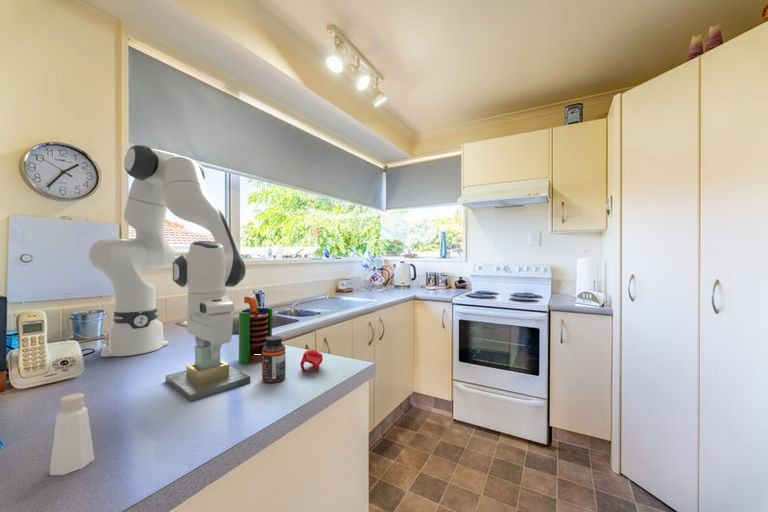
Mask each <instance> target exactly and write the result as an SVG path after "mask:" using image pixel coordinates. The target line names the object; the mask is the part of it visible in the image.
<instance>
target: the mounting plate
mask: <svg viewBox="0 0 768 512" xmlns="http://www.w3.org/2000/svg"><path fill="white" fill-rule="evenodd" d="M185 367H186V369H185V370H182V371H178V372H174V373H170V374H168V375H167V374H166V375H165V383H167V384H168V385H170V386H171V387H172V388H173V389H174V390H176V391H177V392H178V393H180V395H182V396H184V398H186V399H187V400H188V401H190V403H191V402H194V401H197V400H201V399H204V398H207V397H210V396H213V395H216V394H219V393H222V392H225V391H228V390H230V389H234V388H237V386H238V387H241V386H242V385H243V386H244V385H246V384H249V383H251V376H250V375H248V374H246V373H244V372H242V371H240V370H238V369H236V368H234V367H232V366H231V365H230V364H229V363H228V362H226V361H224V360H222V359H220V366H216V367H212V368H208V369H205V370H201V371H199V370H198V369H196V368H195V362H194V363H190V364H187V365H186V366H185Z"/></svg>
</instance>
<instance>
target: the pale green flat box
mask: <svg viewBox="0 0 768 512" xmlns="http://www.w3.org/2000/svg"><path fill="white" fill-rule="evenodd" d="M211 347H212V346H211V342H208V341H206V340H203V345H198V346H197V345H195V346H194V363H195V368H196V369H198V370H199V371H201V370H205V369H208V368H212V367H216V366H220V360H221V350H220V351H219V358H217V359H211V358H210V357H209V356H210V354H209V352H210V351H211Z"/></svg>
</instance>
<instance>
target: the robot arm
mask: <svg viewBox="0 0 768 512" xmlns="http://www.w3.org/2000/svg"><path fill="white" fill-rule="evenodd" d="M123 162H124V169H125V171H126V173H127V174H128V175H129V176H130V177H132V178H134V179H132V180H133V181H132V183H131V185H130V189H129V191H128V196H127V201H126V204H125V209H124V212H123V213H124V214H123V219H124V221H125V223H126V224H128V225H129V226H130V227H132V229H134V230H135V238H122V237H113V238H105V239H100V240H97V241H95V242H94V243H93V244H92V245H91V246H90V247H89V251H88V259H89V261H90V263H91V264H92V265H93V267H94V268H96V269H97V270H100V271H101V272H102V273H103V274H104V275H106V276H107V278H108V279H109V281H110V282H111V284H112V287H113V290H114V298H115V299H114V302H115V311H114V312H113V316H112V317H113V322H114V324H113V325H112V327H111V328H110V330H108V332H106V333H104V334H103V341H106V342H105V343H104V344H103V346H102V348H101V351H100V356H99V357H100V358H106V357H127V356H128V357H129V356H130V357H131V356H137V355H141V354H147V353H150V352H153V351H157V350H159V349H161V348H162V347H164V346H167V345H169V341H168V340H164V329H163V328H164V327H163V322H161V321H159V320H158V315H159V312H158V308H157V298H156V297H157V296H156V295H157V289H156V286H155V285H154V284H153V283H152V282H150V281H147V280H145V278H144V277H143V275H142V272H141V271H143V270H144V271H146V270H158V269H163V268H166V267H170V265H172V281H173V282H174V283H176V285H177V286H179V287H181V288H187V289H188V290H187V316H186V330H187V333H188V334H190V335H193V336H194V341H195V344H196V345H195V346H198V345H203V340H206V341H208V342H211V346H212V347H211V351H210V352H209V354H210V356H209V357H210V358H211V359H217V358H219V351H220V352H221V347H222V345H224V344H229V343H230V342H231V340H232V336H233V323H234V322H233V321H234V319H233V314H232V312H234V311H235V303H234V302H233V301H232V300H231V299H230V298H229V297H228V295H227V288H228V287H229V288H235V287H236V286H238V284H240V283H241V282H242V280H243V279H244V278H245V276H246V265H245V262H244V260H243V258H242V256H241V255H240V253H239V251H238V249H237V246H236V243H235V241H234V238H233V236H232V233H231V230H230V228H229V224H228V223H227V220H226V217H225V216H224V213H223V212H222V210H221V208H219V207H217V206H216V205H215V204H214V203H213V202H212V201H211V199H210V198H209V196H208V193H207V190H206V184H205V179H206V172H205V169H204V167H203V166H202V165H201V164H199V162H196V161H195V160H193V159H192V158H189V157H188V156H187V157H186V156H181V155H179V154H176V153H172V152H168V151H165V150H160V149H156V148H152V147H150V146H146V145H142V144H139V145H138V144H137V145H136V144H135V145H132V146H131V147H129V149H128V150H127V151H126V154H125V156H124V161H123ZM167 210H169V212H171V214H173V215H174V216H176V217H177V218H179V219H181V220H183V221H186V222H189V223H192V224H195V225H197V226H200V227H202V228H204V229H205V230H207V231H209V232H210V233H211V235H212V237H213V239H214V241H208V240H197V241H194V242H191V243H190V245H189V250H188V252H187V253H185V254H181V255H180V256H178V257H177V258H176V250H175V248H174V246H173V245H172V243H170V242H169V241H168V239H167V237H166V234H165V233H166V232H165V220H166V215H167Z"/></svg>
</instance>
